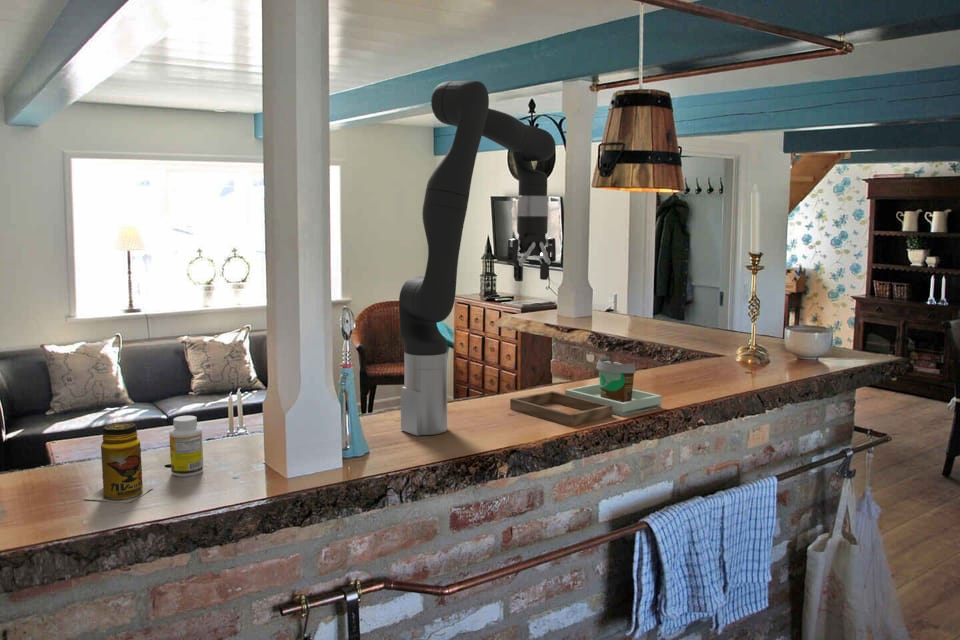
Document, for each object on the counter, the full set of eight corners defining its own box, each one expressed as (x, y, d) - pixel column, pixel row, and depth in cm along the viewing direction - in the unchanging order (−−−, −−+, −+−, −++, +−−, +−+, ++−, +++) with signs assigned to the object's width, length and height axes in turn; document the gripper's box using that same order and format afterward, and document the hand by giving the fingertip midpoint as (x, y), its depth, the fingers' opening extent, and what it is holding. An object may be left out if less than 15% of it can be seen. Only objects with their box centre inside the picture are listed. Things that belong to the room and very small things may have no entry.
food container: (586, 396, 209) (587, 357, 207) (607, 394, 211) (608, 355, 210) (612, 407, 198) (613, 366, 196) (634, 405, 200) (636, 364, 199)
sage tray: (622, 416, 193) (623, 403, 193) (564, 401, 208) (565, 389, 208) (661, 407, 202) (661, 395, 202) (602, 393, 217) (603, 382, 216)
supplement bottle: (177, 468, 154) (175, 414, 152) (207, 468, 154) (205, 414, 152) (166, 477, 148) (163, 421, 147) (197, 478, 148) (195, 422, 147)
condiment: (130, 503, 135) (126, 432, 134) (82, 500, 137) (78, 429, 135) (154, 488, 143) (151, 420, 141) (108, 485, 144) (105, 418, 142)
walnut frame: (569, 426, 184) (569, 415, 184) (510, 409, 200) (510, 398, 199) (612, 416, 193) (612, 406, 193) (552, 400, 209) (552, 391, 208)
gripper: (521, 214, 197) (520, 283, 199) (563, 214, 206) (562, 280, 208) (500, 214, 203) (499, 280, 205) (543, 214, 212) (541, 277, 214)
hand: (531, 280), depth 206 cm, fingers open, 8 cm apart
